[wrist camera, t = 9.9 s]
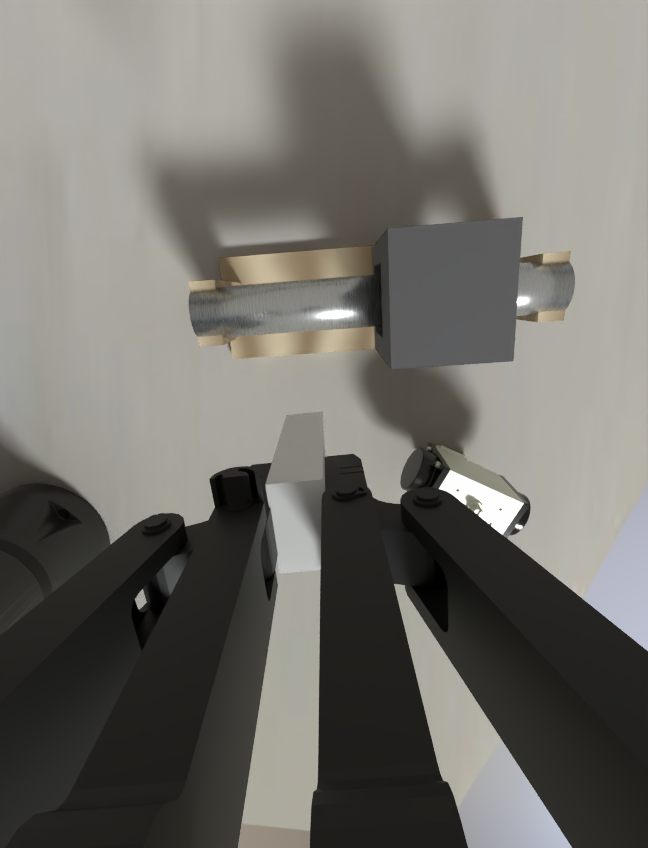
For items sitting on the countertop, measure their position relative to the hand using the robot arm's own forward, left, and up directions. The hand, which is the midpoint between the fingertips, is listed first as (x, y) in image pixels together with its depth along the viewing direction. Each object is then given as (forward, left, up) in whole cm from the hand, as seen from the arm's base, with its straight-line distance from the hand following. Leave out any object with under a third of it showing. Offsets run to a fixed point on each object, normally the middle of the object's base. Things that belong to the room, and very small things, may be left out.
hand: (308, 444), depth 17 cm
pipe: (+5, +5, -21) cm, 22 cm away
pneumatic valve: (+13, -14, -29) cm, 34 cm away
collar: (+9, +5, -23) cm, 25 cm away
